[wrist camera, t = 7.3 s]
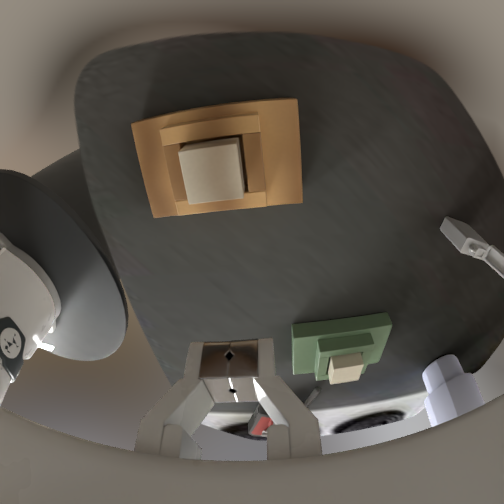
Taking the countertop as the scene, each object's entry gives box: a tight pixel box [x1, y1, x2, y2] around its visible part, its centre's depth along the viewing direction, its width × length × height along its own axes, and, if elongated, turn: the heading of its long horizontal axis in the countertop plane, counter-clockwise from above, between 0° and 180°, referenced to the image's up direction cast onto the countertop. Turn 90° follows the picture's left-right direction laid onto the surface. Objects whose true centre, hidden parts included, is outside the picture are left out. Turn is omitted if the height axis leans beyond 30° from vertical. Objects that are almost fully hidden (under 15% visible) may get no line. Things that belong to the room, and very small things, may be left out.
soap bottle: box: [423, 355, 485, 427], centre depth 30 cm, size 10×10×24 cm
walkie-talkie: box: [248, 387, 321, 437], centre depth 43 cm, size 9×4×20 cm
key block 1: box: [131, 98, 303, 218], centre depth 20 cm, size 12×8×4 cm, turn 96°
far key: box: [328, 352, 364, 384], centre depth 30 cm, size 4×4×2 cm
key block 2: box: [292, 312, 392, 381], centre depth 32 cm, size 12×8×4 cm, turn 96°
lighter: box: [440, 216, 504, 278], centre depth 22 cm, size 7×2×8 cm, turn 79°
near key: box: [178, 138, 245, 204], centre depth 18 cm, size 4×4×2 cm
